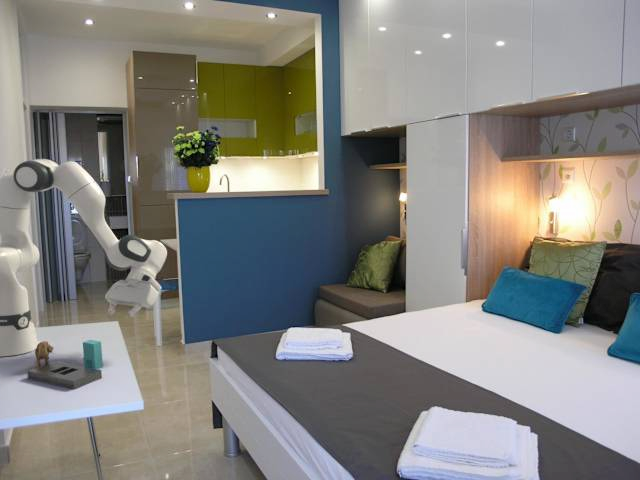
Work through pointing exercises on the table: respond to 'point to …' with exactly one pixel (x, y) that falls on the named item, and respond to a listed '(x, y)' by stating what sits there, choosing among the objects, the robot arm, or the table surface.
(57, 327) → the table surface
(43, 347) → the lion figurine
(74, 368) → the gray rectangular base
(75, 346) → the table surface
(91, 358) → the teal rectangular prism
